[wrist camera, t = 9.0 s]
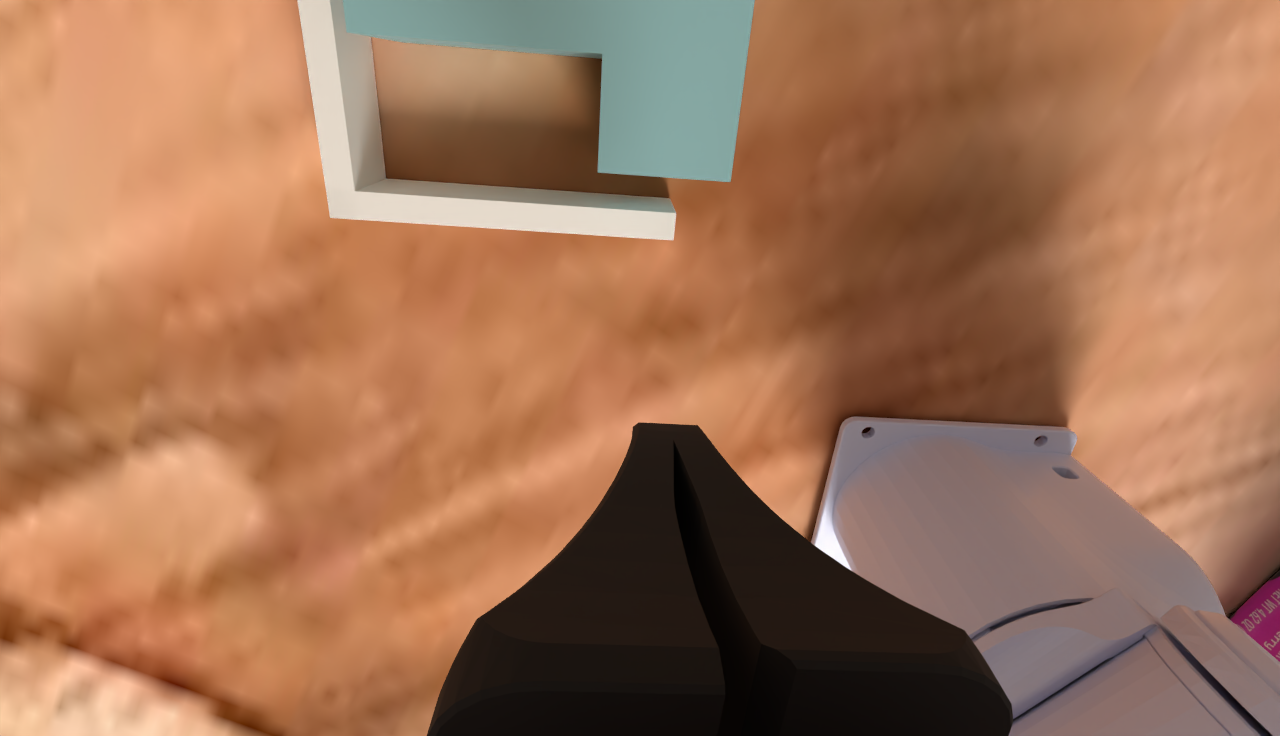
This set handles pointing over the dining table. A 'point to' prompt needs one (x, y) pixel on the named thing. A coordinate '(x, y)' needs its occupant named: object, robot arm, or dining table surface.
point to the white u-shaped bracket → (368, 195)
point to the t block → (611, 66)
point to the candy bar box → (1262, 616)
